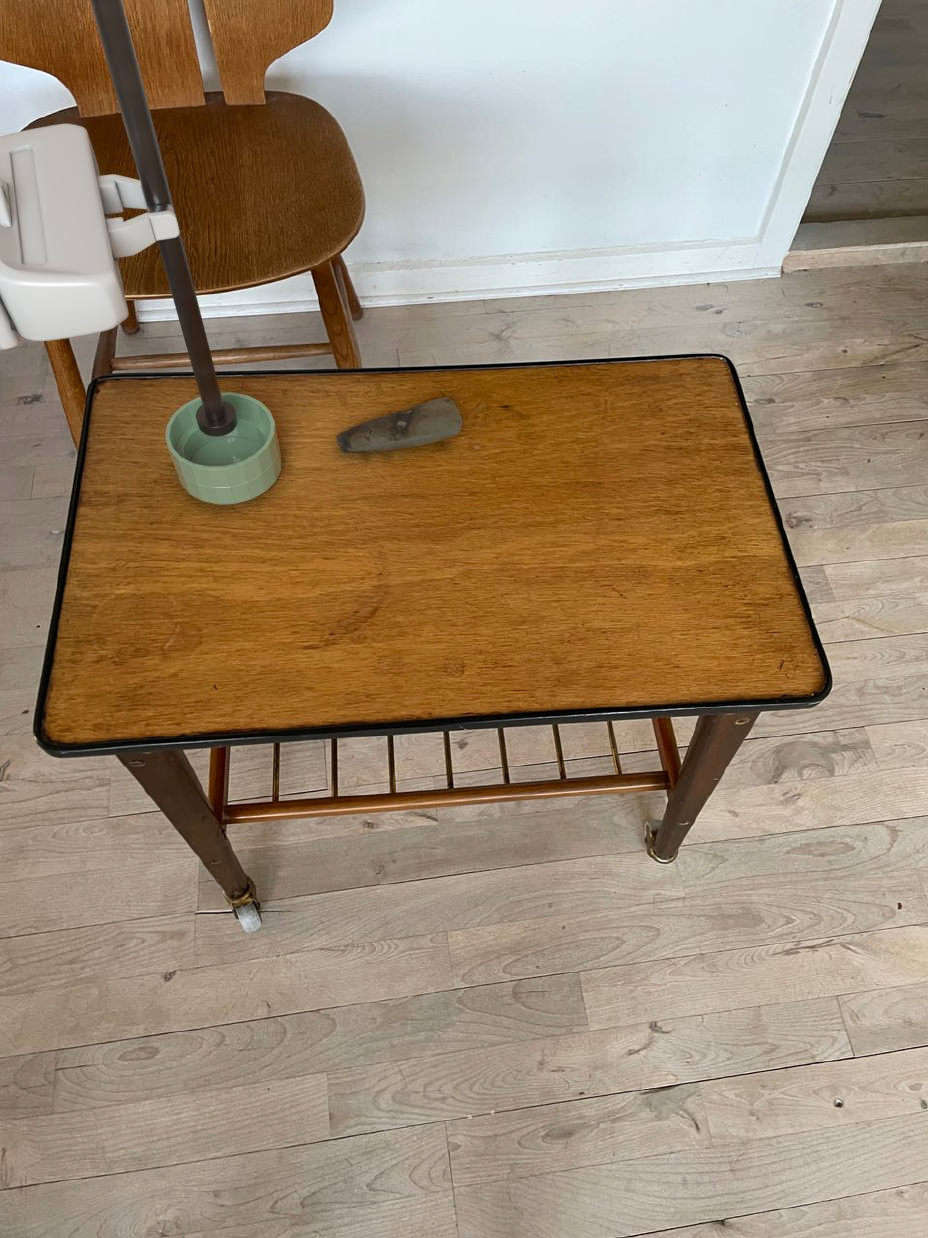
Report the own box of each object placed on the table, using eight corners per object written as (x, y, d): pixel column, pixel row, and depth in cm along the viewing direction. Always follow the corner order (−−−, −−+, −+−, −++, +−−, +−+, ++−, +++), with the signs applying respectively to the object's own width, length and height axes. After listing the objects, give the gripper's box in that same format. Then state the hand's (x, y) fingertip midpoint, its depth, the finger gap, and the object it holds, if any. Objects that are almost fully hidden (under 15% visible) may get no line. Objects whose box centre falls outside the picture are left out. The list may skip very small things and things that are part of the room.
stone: (450, 407, 90) (451, 391, 88) (468, 439, 88) (469, 423, 86) (333, 439, 87) (330, 422, 85) (348, 472, 85) (346, 457, 83)
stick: (190, 426, 78) (35, -81, 46) (215, 403, 80) (83, -101, 48) (220, 442, 77) (84, -64, 45) (245, 419, 79) (131, -85, 47)
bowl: (157, 480, 83) (142, 440, 78) (224, 419, 88) (213, 378, 83) (238, 524, 80) (227, 485, 76) (302, 459, 85) (296, 418, 81)
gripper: (-19, 196, 66) (162, 172, 69) (-5, 368, 56) (206, 331, 59) (-56, 111, 61) (141, 89, 64) (-49, 285, 51) (185, 249, 54)
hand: (173, 207), depth 61 cm, fingers closed on stick, 2 cm apart
